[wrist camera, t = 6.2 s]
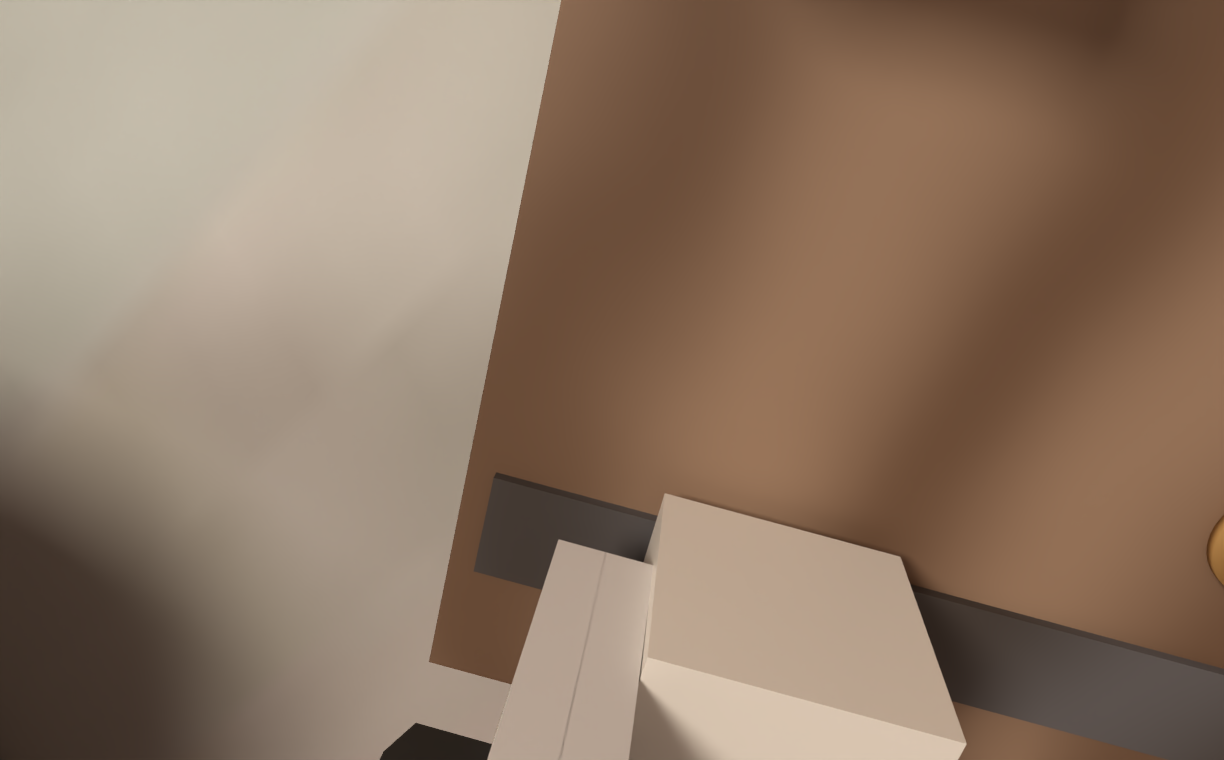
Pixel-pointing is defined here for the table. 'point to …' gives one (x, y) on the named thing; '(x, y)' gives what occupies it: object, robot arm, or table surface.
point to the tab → (782, 648)
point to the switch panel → (885, 335)
